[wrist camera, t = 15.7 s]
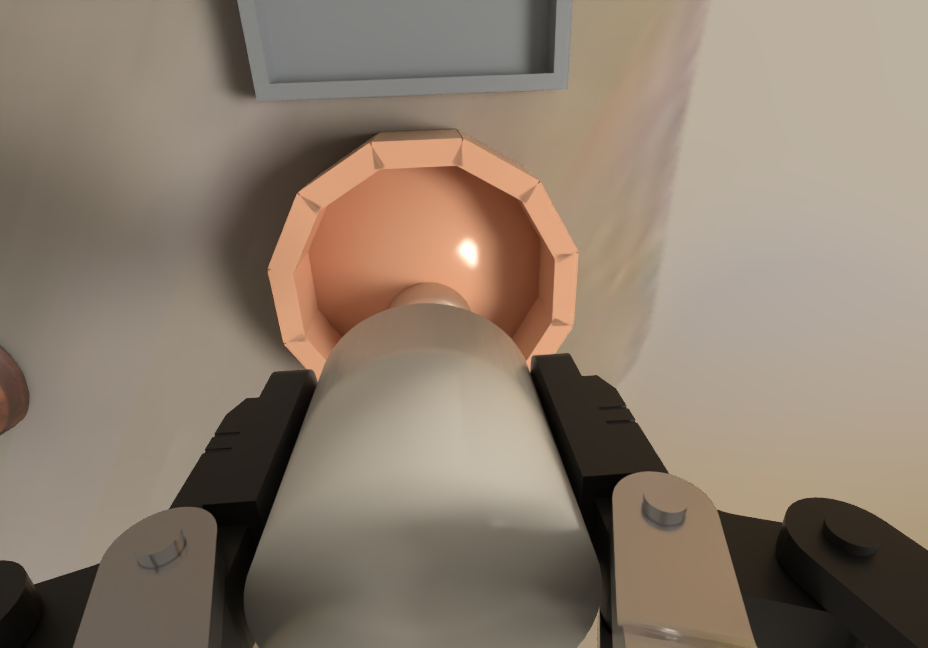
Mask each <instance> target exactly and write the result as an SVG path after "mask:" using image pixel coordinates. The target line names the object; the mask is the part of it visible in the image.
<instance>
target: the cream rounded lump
mask: <svg viewBox="0 0 928 648" xmlns="http://www.w3.org/2000/svg"><path fill="white" fill-rule="evenodd" d="M418 303H436V304H444V305H451V306H455V307H459V308H463V309H466V310H469V311H471V310H470V307H469V305H468V303H467V302H466V300H465V299H464V298H463V297H462V296H461V295H460V294H459V293H458V292H457V291H455V290H454V289H452V288H450V287H448V286H446V285H443V284H439V283H420V284H416V285H413V286H411V287H408V288H407V289H405V290H403V291H402V292H401V293H399V294H398V295H397V296H396V297H395V299H394V300H393V301H392V303H391V304H390V306H389V309H390V308H394V307H398V306H403V305H409V304H418Z"/></svg>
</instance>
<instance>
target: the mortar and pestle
mask: <svg viewBox="0 0 928 648" xmlns="http://www.w3.org/2000/svg"><path fill="white" fill-rule="evenodd" d="M28 406H29V391H28V387H27V384H26V380H25V377H24V375H23V373H22V372H21V370H20V368H19V367H18V365H17V364H16V363H15V361H14V360H13V359H12V357H11V356H10V355H9V354H8V353H6V352H5V351H4V350H3V349H2V348H1V347H0V435H1V434H3V433H5V432H6V431H8V430H10V429H11V428H13V427H14V426H16V425H17V424H18V423H19V422H20V421H21V420H22V419H23V418H24V417H25V415H26V413H27V411H28Z"/></svg>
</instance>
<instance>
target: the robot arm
mask: <svg viewBox="0 0 928 648" xmlns="http://www.w3.org/2000/svg"><path fill="white" fill-rule="evenodd" d="M530 374H531V376H532V379H533V382H534V385H535V387H536V390H537V393H538V396H539V399H540V401H541V404H542V407H543V410H544V412H545V415H546V418H547V421H548V423H549V426H550V429H551V432H552V434H553V437H554V440H555V443H556V446H557V448H558V451H559V454H560V457H561V459H562V462H563V465H564V468H565V470H566V473H567V476H568V479H569V482H570V484H571V487H572V490H573V493H574V495H575V498H576V501H577V504H578V506H579V509H580V512H581V515H582V517H583V520H584V523H585V526H586V529H587V531H588V534H589V537H590V540H591V542H592V545H593V548H594V551H595V553H596V556H597V559H598V562H599V564H600V570H601V576H602V596H601V601H600V605H599V612H598V621H597V648H928V550H926V549H925V548H923V547H922V546H921V545H919V544H918V543H916V542H915V541H913V540H912V539H910V538H909V537H907V536H906V535H904V534H903V533H901V532H900V531H898V530H897V529H896V528H894V527H893V526H891V525H890V524H888V523H887V522H885V521H884V520H882V519H880V518H879V517H877V516H876V515H874V514H872V513H870V512H868V511H866V510H864V509H861V508H859V507H857V506H855V505H851V504H848V503H845V502H842V501H838V500H834V499H827V498H805V499H802V500H798V501H796V502H795V503H793V504H792V505H791V506H790V507H788V509H787V511H786V514H785V517H784V520H783V523H781V522H775V521H769V520H763V519H757V518H752V517H746V516H740V515H735V514H730V513H726V512H723V511H720V510H717V509H716V507H715V505H714V504H713V502H712V501H711V499H710V498H709V497H708V496H707V495H706V494H705V493H704V492H703V491H702V490H701V489H699V488H698V487H696V486H695V485H694V484H692V483H690V482H688V481H686V480H684V479H682V478H680V477H677V476H674V475H671V474H669V473H668V471H667V470H666V468H665V466H664V465H663V463H662V462H661V460H660V458H659V457H658V455H657V454H656V452H655V450H654V449H653V447H652V446H651V444H650V442H649V441H648V439H647V438H646V436H645V435H644V433H643V431H642V430H641V428H640V427H639V425H638V423H635V418H634V417H633V415H632V414H631V412H630V410H629V409H627V408H626V405H625V402H624V401H623V399H622V398H621V396H620V395H619V393H618V391H617V390H616V388H614V387H613V386H611V385H610V384H609V383H607V382H606V381H604V380H603V379H601V378H600V377H599V376H597V375H595V376H581V374H580V372H579V370H578V368H577V366H576V364H575V363H574V361H573V359H572V357H571V355H570V354H569V353H562V354H547V355H533V356H532V358H531V365H530ZM317 383H318V382H317V378H316V375H315V372H314V371H313V370H312V369H309V370H293V371H278V372H273V373H272V374H271V376H270V378H269V380H268V382H267V384H266V385H265V387H264V389H263V391H262V393H261V395H260V397H259V398H246V399H245V400H244V401H243V402H241V403H240V404H239V405H238V406H236V407H235V408H234V409H233V410H231V411H230V412H229V413H228V414H227V415H226V416H225V417H224V419H223V421H222V422H221V424H220V426H219V427H218V429H217V431H216V432H215V437H212V439H211V441H210V442H209V444H208V445H207V447H206V449H205V453H203V454H202V455H201V457H200V459H199V460H198V462H197V464H196V465H195V467H194V469H193V470H192V472H191V474H190V475H189V477H188V478H187V480H186V482H185V483H184V485H183V487H182V488H181V490H180V492H179V493H178V495H177V497H176V498H175V500H174V502H173V503H172V505H171V506H170V508H169V509H168V510H165V511H162V512H158V513H156V514H154V515H151V516H149V517H147V518H145V519H143V520H141V521H139V522H138V523H136V524H135V525H133V526H132V527H130V528H129V529H127V530H126V531H125V532H124V533H122V534H121V535H120V536H119V537H118V538H117V539H116V540H115V541H114V542H113V543H112V544H111V546H110V547H109V548H108V549H107V551H106V552H105V554H104V555H103V557H102V560H101V562H100V563H99V564H97V565H94V566H91V567H88V568H85V569H81V570H78V571H75V572H72V573H69V574H66V575H63V576H59V577H56V578H53V579H50V580H47V581H44V582H41V583H37V584H34V585H33V583H32V581H31V579H30V578H29V576H28V574H27V573H26V571H25V569H24V568H23V567H22V566H21V565H20V564H18V563H15V562H13V561H4V560H3V561H0V648H258V645H257V644H256V642H255V641H254V639H253V637H252V634H251V632H250V630H249V628H248V625H247V621H246V617H245V612H244V589H245V583H246V578H247V575H248V572H249V569H250V567H251V564H252V561H253V558H254V556H255V553H256V550H257V547H258V545H259V542H260V539H261V536H262V534H263V531H264V528H265V526H266V523H267V520H268V517H269V515H270V512H271V509H272V506H273V504H274V501H275V498H276V495H277V493H278V490H279V487H280V484H281V482H282V479H283V476H284V473H285V471H286V468H287V465H288V462H289V460H290V457H291V454H292V452H293V449H294V446H295V443H296V441H297V438H298V435H299V432H300V430H301V427H302V424H303V421H304V419H305V416H306V413H307V410H308V408H309V405H310V402H311V399H312V397H313V394H314V391H315V388H316V386H317Z"/></svg>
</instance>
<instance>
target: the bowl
mask: <svg viewBox="0 0 928 648" xmlns="http://www.w3.org/2000/svg"><path fill="white" fill-rule="evenodd" d="M578 254H579V253H578V250H577V248H576V246H575V245H574V243H573V241H572V239H571V237H570V235H569V234H568V232H567V230H566V228H565V226H564V224H563V222H562V221H561V219H560V217H559V215H558V213H557V211H556V210H555V208H554V206H553V204H552V202H551V200H550V198H549V197H548V195H547V193H546V191H545V189H544V187H543V186H542V184H541V182H540V181H539V180H538V179H537V178H536V177H534V176H533V175H532V174H531V173H530V172H529V171H527V170H526V169H525V168H524V167H523V166H522V165H520V164H518V163H516V162H514V161H513V160H511V159H509V158H507V157H506V156H504V155H502V154H500V153H498V152H497V151H495V150H493V149H491V148H490V147H488V146H486V145H484V144H482V143H481V142H479V141H477V140H475V139H474V138H472V137H470V136H468V135H467V134H465V133H463V132H461V131H459V130H456V129H446V130H423V131H399V132H380V133H377V134H376V135H375V136H373V137H372V138H370V139H369V140H367V141H366V142H364V143H363V144H362V145H360V146H359V147H357V148H356V149H354V150H353V151H352V152H350V153H349V154H347V155H346V156H344V157H343V158H342V159H340V160H339V161H337V162H336V163H334V164H333V165H331V166H330V167H329V168H327V169H326V170H324V171H323V172H321V173H320V174H319V175H317V176H316V177H315V178H314V179H313V180H312V181H310V182H309V183H308V184H307V185H306V186H305V187H304V188H302V189H301V190H300V191H299V192H298V193H297V194H296V197H295V200H294V202H293V205H292V207H291V210H290V212H289V215H288V218H287V220H286V223H285V225H284V228H283V230H282V233H281V235H280V238H279V241H278V243H277V246H276V248H275V251H274V253H273V256H272V259H271V261H270V264H269V266H268V275H269V279H270V284H271V289H272V293H273V298H274V302H275V307H276V312H277V316H278V321H279V326H280V330H281V335H282V340H283V343H285V344H284V345H285V346H286V347H287V348H288V349H289V350H290V352H291V353H292V354H293V355H294V356H295V357H296V358H297V359H298V360H299V361H300V362H301V364H302V365H303V366H304V367H305V368H306V369H307V370H309V369H312V370H313V371H314V372H315V375H316V378H317V381H318V380H319V378H320V375H321V372H322V369H323V367H324V364H325V362H326V360H327V358H328V356H329V354H330V353H331V351H332V349H333V348H334V347H335V345H336V344H337V343H338V342H339V340H340V339H341V338H342V337H343V336H344V335H345V334H346V333H347V332H348V331H349V330H351V329H352V328H353V327H355V326H356V325H357V324H359V323H360V322H362V321H363V320H365V319H367V318H369V317H371V316H373V315H375V314H377V313H379V312H382V311H385V310H387V309H389V306H390V304H391V303H392V301H393V300H394V299H395V297H396V296H397V295H398V294H399V293H401V292H402V291H403V290H405V289H407V288H408V287H411V286H413V285H416V284H420V283H439V284H443V285H446V286H448V287H450V288H452V289H454V290H455V291H457V292H458V293H459V294H460V295H461V296H462V297H463V298H464V299H465V300H466V302H467V303H468V305H469V307H470V310H471V312H474V313H476V314H479V315H480V316H482V317H484V318H486V319H488V320H490V321H491V322H493V323H494V324H495V325H497V326H498V327H499V328H501V329H502V330H503V331H504V332H505V333H506V334H507V335H508V336H509V337H510V338H511V339H512V340H513V341H514V343H515V344H516V345H517V346H518V348H519V349H520V351H521V353H522V355H523V356H524V358H525V360H526V363H527V366H528V368H529V371H530V365H531V358H532V356H533V355H547V354H555V353H556V351H557V350H558V348H559V347H560V345H561V344H562V342H563V341H564V339H565V338H566V336H567V335H568V333H569V332H570V330H571V329H572V327H573V326H572V325H574V313H575V298H576V283H577V268H578Z"/></svg>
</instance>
